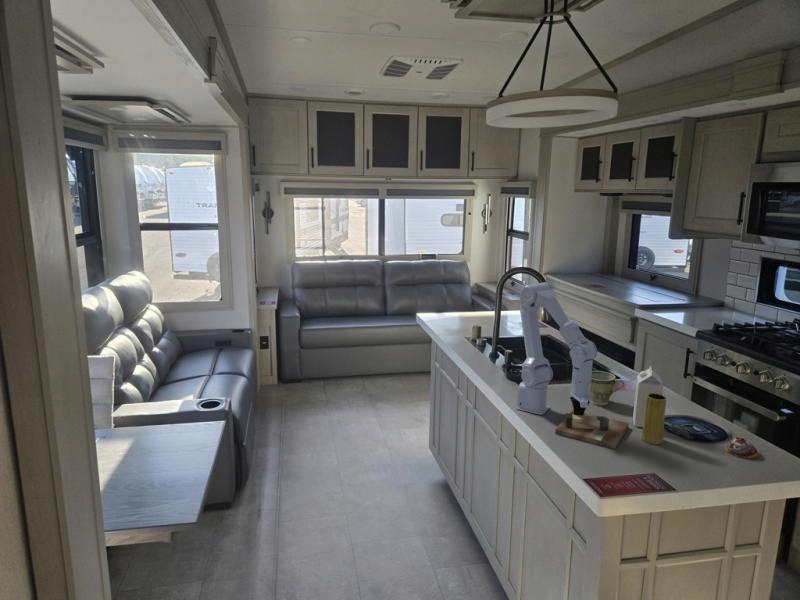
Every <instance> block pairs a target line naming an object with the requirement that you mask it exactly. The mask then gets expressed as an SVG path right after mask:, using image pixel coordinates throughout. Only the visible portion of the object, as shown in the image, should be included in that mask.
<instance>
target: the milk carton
mask: <svg viewBox="0 0 800 600" xmlns="http://www.w3.org/2000/svg"><path fill="white" fill-rule="evenodd" d="M663 390H664V384H663V382H662V379H661V377H660V375H658V374H657V373H656V372H655V371H654V370H652V366H651V364H649V368H647V369H646V370H642V371H640V372H639V373H638V374H637V375H636V386H635V394H634V403H633V414H632V419H633V425H634V427H637V428H638V427H639V428H643V425H644V418H645V410H646V403H647V395H648V394H650V393H657V394H661V395H663Z"/></svg>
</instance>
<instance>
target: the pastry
mask: <svg viewBox="0 0 800 600" xmlns="http://www.w3.org/2000/svg"><path fill="white" fill-rule="evenodd" d="M725 451H726V452H727V453H728V454H730V455H732V456H733V457H736V458H740V459H742V460H755V459H756V458H757V457H758V455H759V452H758V449H757V448H756V447H755V445H754V444H753V443H750V442H748V441H747V440H746V439H745V438H744V437H740V436H736V437H735V438H734V439H733V440H732V441H730V442H729V443H728V444H727V445H726V446H725Z"/></svg>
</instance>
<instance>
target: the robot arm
mask: <svg viewBox="0 0 800 600" xmlns="http://www.w3.org/2000/svg"><path fill="white" fill-rule="evenodd" d="M556 293H557V292H556V291H555V290H554V288H553V286H552V284H551V283H550V282H547V281H545V282H544V281H543V282H540V283H534V284H533V283H532V284H526V285H524V286H523V287H522V288H521V289H520V291H519V302H520V303H519V311H520V312H519V313H520V318H521V325H522V332H523V341H524V347H525V354H526V359H525V360H524V362H523V363H522V364H521V380H522V381H521V382H520V383H519V384H518V389H517V402H516V408H515V409H517V410H520V411H524V412H528V413H532V414H537V415H540V416H543V415H545V413H546V412H548V410H549V409H550V408H551V406H550V405H547V398H548V394H547V393H548V385H550V384H549V383H550V381H551V380H552V379H553V376H554V373H553V369H552V367H551V365H550V360H549V359H547V358H546V357H545V356H544V354H543V352H544V351H543V346H542V345H543V344H542V339H541V338H542V337H541V331H540V325H539V324H540V323H539V318H538V310H539V309H540V308H544V309H545V310H546V311H547V312H548V313H549V315H550V316H551V318H552V319H553V320H554V321H555V323H556V324H557V325H558V326H559V330H558V332H559V334H560V336H561V337H562V339H563V340H564V341H565V343H566V344H567V347H568V348H569V349H570V350H569V356H570V357H569V358H570V359H571V365H572V374H571V385H570V386H571V387H570V392H569V395H570V397H569V399H570V402H571V405H572V407H573V409H572V410H574V415H582V416H583V415H584V413H586V412H585V411H586V409H588V408H589V407H588V406H589V405H590V404H591V402H590V401H589V398H590V397H591V396H594V394H593V392H590V386H591V374H592V371H593V361H594V360H593V359H595V358H596V357H597V356H598V349H597V346H596V343H594V342H593V341H591V340H589V339H588V338H587V337H585V335H584V334H583V333H582V331H581V330H580V326H579V325H578V324H576V322H574V321H570V320H569V318H568V317H567V314H566V313H565V311H564V309H563V308H562V306H561V304H560V303H559V301H558V299H557V297H556Z"/></svg>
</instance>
